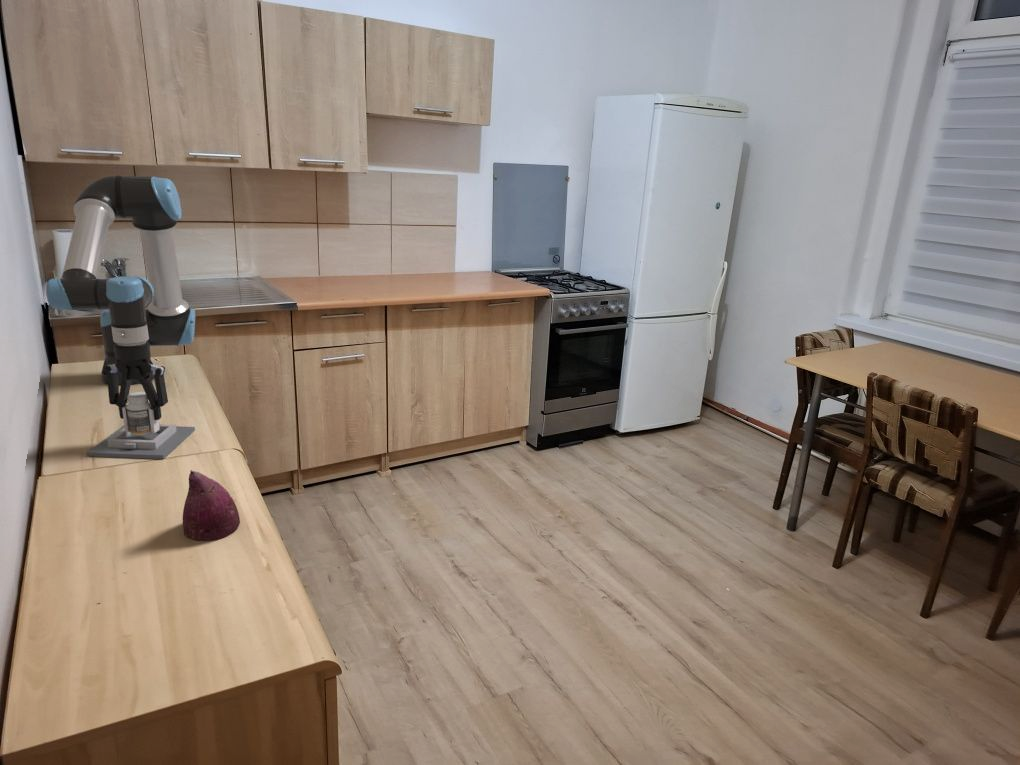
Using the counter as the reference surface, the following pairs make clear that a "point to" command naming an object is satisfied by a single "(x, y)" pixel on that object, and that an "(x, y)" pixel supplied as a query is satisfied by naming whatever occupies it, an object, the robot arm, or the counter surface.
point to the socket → (142, 443)
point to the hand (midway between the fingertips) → (142, 430)
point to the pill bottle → (138, 414)
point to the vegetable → (208, 510)
